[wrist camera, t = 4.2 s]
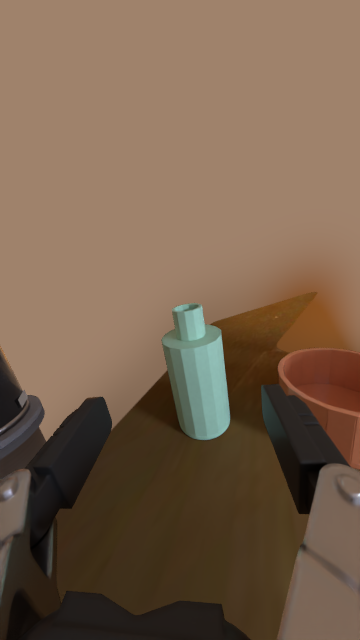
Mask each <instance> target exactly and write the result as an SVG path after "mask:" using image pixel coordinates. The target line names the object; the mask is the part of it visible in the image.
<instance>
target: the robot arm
mask: <svg viewBox="0 0 360 640" xmlns="http://www.w3.org/2000/svg"><path fill="white" fill-rule="evenodd" d="M261 392H262V412H263V418H264V423H265V426H266V429H267V431H268V434H269V436H270V439H271V442H272V444H273V447H274V450H275V452H276V455H277V458H278V460H279V463H280V465H281V468H282V471H283V473H284V476H285V479H286V481H287V484H288V487H289V489H290V492H291V494H292V497H293V500H294V502H295V505H296V508H297V510H298V513H299V514H309V515H310V516H309V520H308V525H307V529H306V533H305V537H304V541H303V544H302V545H301V546H300V548H299V551H298V555H297V558H296V562H295V566H294V571H293V575H292V579H291V583H290V587H289V591H288V595H287V600H286V604H285V608H284V612H283V616H282V620H281V624H280V628H279V633H278V637H277V640H360V472H359V471H358V470H356V469H354V468H352V467H351V466H350V465H349V464H348V463H347V461H346V460H345V458H344V457H343V456H342V454H341V453H340V451H339V450H338V448H337V447H336V446H335V444H334V443H333V441H332V440H331V439H330V437H329V436H328V434H327V433H326V431H325V430H324V429H323V427H322V426H321V425H320V424H319V422H318V420H317V419H316V417H315V416H313V413H312V412H311V410H310V409H309V407H308V406H307V405H306V403H305V402H303V401H302V400H300V399H299V398H298V397H296V396H295V395H288V396H286V394H285V392H284V391H283V389H282V387H281V386H280V385H279V384H273V385H262V387H261ZM27 398H28V396H27V394H26V393H25V390H24V391H22V389H21V386H20V384H19V382H18V380H17V378H16V376H15V374H14V372H13V370H12V369H11V366H10V364H9V362H8V360H7V358H6V356H5V354H4V352H3V350H2V348H1V346H0V436H1V435H3V434H4V433H6V432H7V431H8V430H10V429H11V428H12V427H14V426H15V425H16V424H17V423H18V422H19V421H20V420H21V419H22V418H23V417H24V416H25V415H26V414H27V412H28V411H29V408H30V403H29V401H28V399H27ZM111 428H112V420H111V417H110V414H109V411H108V408H107V405H106V402H105V400H104V398H103V397H93V398H87V399H86V400H85V401H84V402H83V403H82V405H81V406H80V407H79V408H78V409H76V410H75V411H74V412H73V413H72V414H70V415H69V416H68V417H67V418H66V419H65V420H64V421H63V423H62V424H61V425H60V427H59V428H58V429H57V430H56V431H55V432H54V434H53V436H51V437H50V439H49V440H48V441H47V442H46V443H45V444H44V446H43V447H42V448H41V449H40V451H39V452H38V453H37V454H36V455H35V457H34V458H33V459H32V460H31V462H30V463H29V464H28V465H27V466H26V468H25V469H19V470H16V471H14V472H12V473H10V474H8V475H7V476H5V477H4V478H2V479H1V480H0V640H250V639H249V638H248V637H247V635H246V634H244V633H243V632H242V631H241V630H239V629H238V628H237V627H236V626H234V625H233V624H231V623H229V622H227V621H226V620H225V619H224V614H223V609H222V604H214V603H202V602H190V601H178V602H175V603H172V604H169V605H166V606H164V607H161V608H158V609H155V610H153V611H150V612H147V613H144V614H142V615H133V614H131V613H130V612H128V611H127V610H125V609H124V608H122V607H121V606H119V605H118V604H116V603H115V602H113V601H111V600H110V599H108V598H107V597H105V596H104V595H102V594H97V593H85V592H73V591H67V592H66V594H65V597H64V599H63V602H62V604H61V601H60V596H59V593H58V589H57V580H56V572H57V519H56V517H55V516H56V514H57V512H58V511H59V509H60V508H63V509H72V507H73V505H74V503H75V501H76V499H77V497H78V495H79V493H80V491H81V489H82V487H83V485H84V483H85V481H86V479H87V477H88V475H89V473H90V471H91V469H92V467H93V465H94V463H95V462H96V460H97V458H98V456H99V454H100V452H101V450H102V448H103V446H104V444H105V442H106V440H107V438H108V436H109V434H110V432H111Z"/></svg>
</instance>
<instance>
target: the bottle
mask: <svg viewBox="0 0 360 640" xmlns="http://www.w3.org/2000/svg"><path fill="white" fill-rule="evenodd" d="M172 313H173V319H174V325H175V329H174V330H171V331H170V332H168V333H167V334H165V335H164V337H163V338H162V345H163V350H164V355H165V359H166V364H167V369H168V374H169V378H170V383H171V388H172V392H173V397H174V402H175V407H176V411H177V416H178V420H179V424H180V427H181V429H182V430H183V432H184V433H185V434H186V435H188V436H190V437H192V438H194V439H198V440H209V439H213V438H216V437H218V436H220V435H221V434H222V433H224V432H225V430H226V429H227V428H228V426H229V423H230V411H229V402H228V392H227V383H226V374H225V364H224V355H223V346H222V336H221V330H220V329H219V328H217V327H216V326H212V325H206V324H204V317H203V310H202V305H201V304H196V303H192V304H184V305H180V306H177V307H175V308H173V309H172Z"/></svg>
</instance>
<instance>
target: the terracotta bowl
mask: <svg viewBox="0 0 360 640" xmlns="http://www.w3.org/2000/svg"><path fill="white" fill-rule="evenodd" d="M278 384H279V385H280V386H281V387H282V389H283V391H284V392H285V394H286V396H288V395H295V396H296V397H298V398H299V399H300V400H302V401H303V402H305V403H306V405H307V406H308V407H309V409H310V410H311V412H312V413H313V416H315V417H316V419H317V420H318V422H319V424H320V425H321V426H322V427H323V429H324V430H325V431H326V433H327V434H328V436H329V437H330V439H331V440H332V441H333V443H334V444H335V446H336V447H337V448H338V450H339V451H340V453H341V454H342V456H343V457H344V458H345V460H346V461H347V463H348V464H349V465H350V466H351V467H352V468H354V469H359V470H360V352H356V351H351V350H343V349H335V348H309V349H302V350H298V351H295V352H292V353H289V354H288V355H286V356H285V357H284V358H282V359H281V360H280V363H279V365H278Z"/></svg>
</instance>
